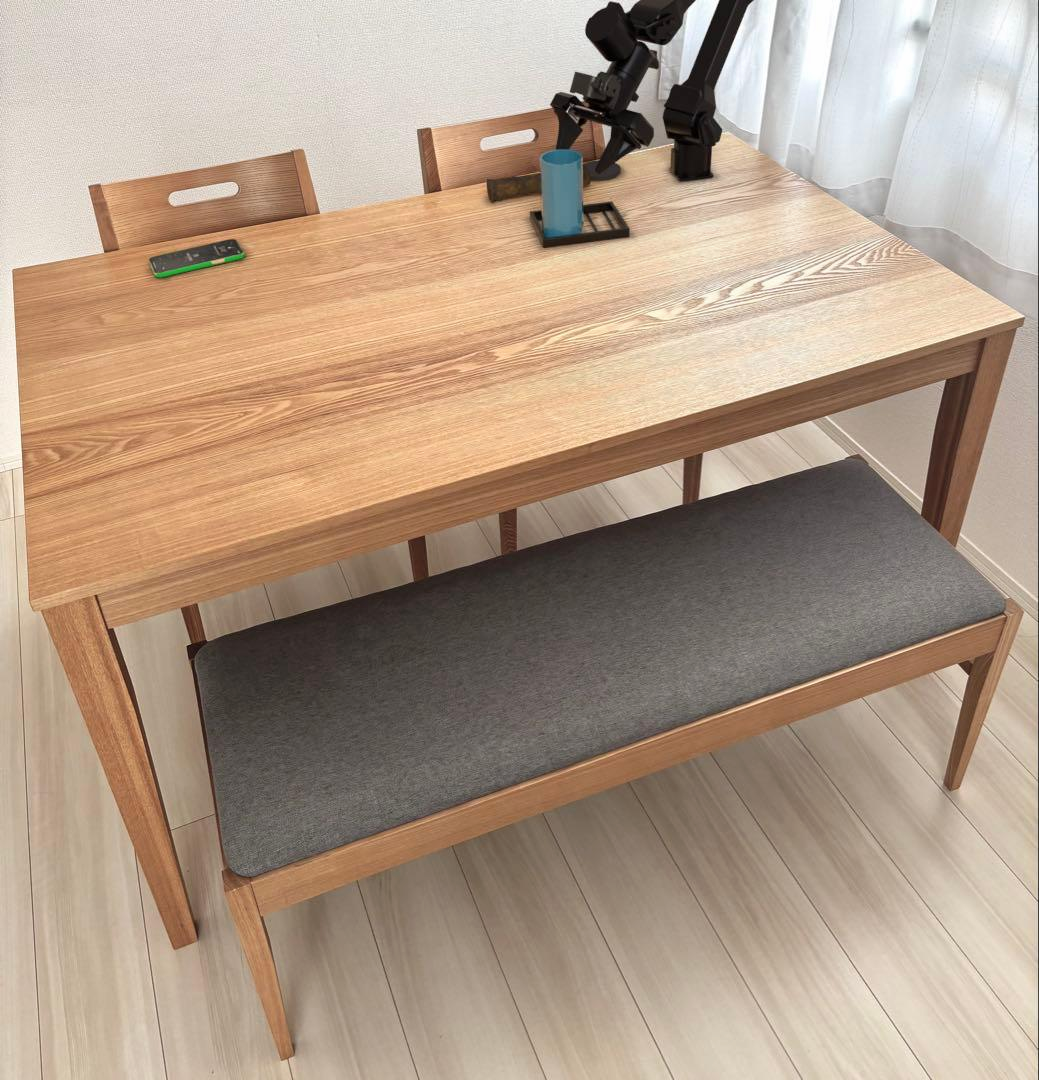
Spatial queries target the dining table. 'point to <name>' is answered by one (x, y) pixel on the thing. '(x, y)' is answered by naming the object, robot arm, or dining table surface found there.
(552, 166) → the cup
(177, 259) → the smartphone
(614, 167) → the trivet
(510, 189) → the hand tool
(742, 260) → the dining table surface
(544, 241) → the black rectangular frame
